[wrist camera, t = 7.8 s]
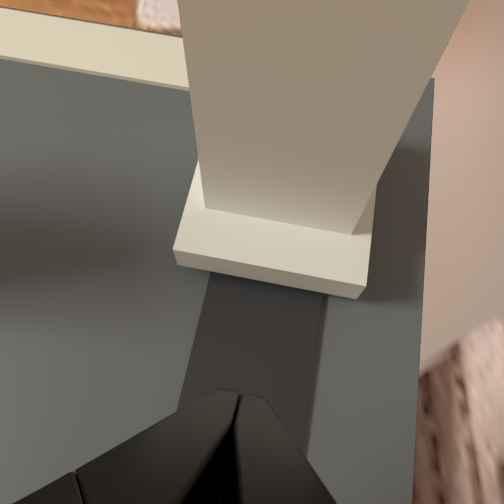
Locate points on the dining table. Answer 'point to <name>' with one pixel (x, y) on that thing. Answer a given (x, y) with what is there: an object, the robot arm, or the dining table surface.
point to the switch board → (178, 277)
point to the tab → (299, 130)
